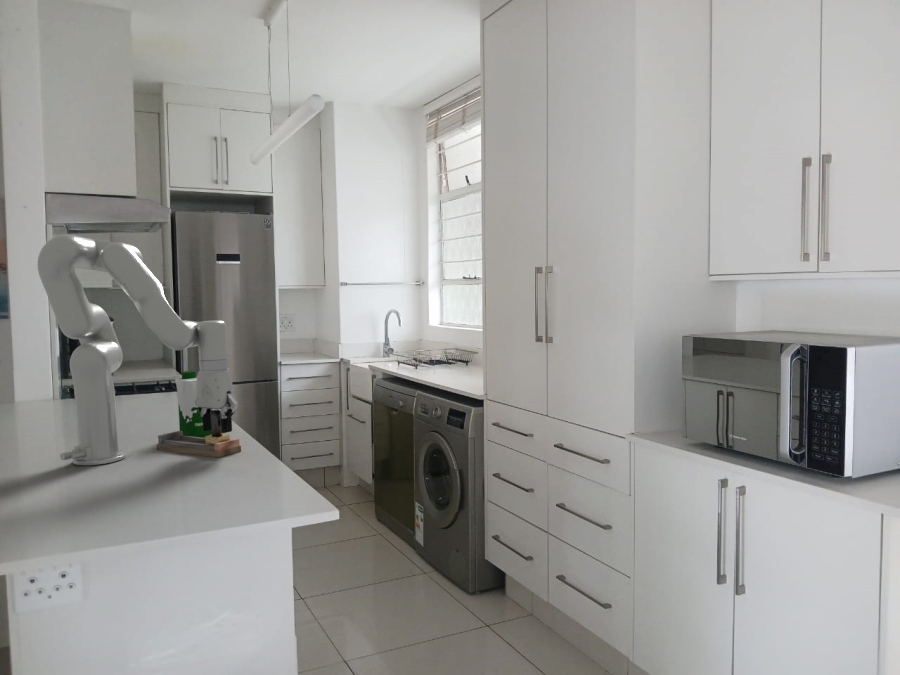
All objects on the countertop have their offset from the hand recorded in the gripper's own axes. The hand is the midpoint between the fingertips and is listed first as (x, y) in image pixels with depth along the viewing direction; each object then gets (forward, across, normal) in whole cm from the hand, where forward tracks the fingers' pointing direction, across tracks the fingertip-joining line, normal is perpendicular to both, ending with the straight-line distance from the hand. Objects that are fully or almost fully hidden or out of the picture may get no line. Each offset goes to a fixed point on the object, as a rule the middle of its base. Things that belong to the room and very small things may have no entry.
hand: (217, 430), depth 189 cm
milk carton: (+6, -24, +13) cm, 28 cm away
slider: (+4, 0, 0) cm, 4 cm away
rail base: (+6, -8, 0) cm, 10 cm away
